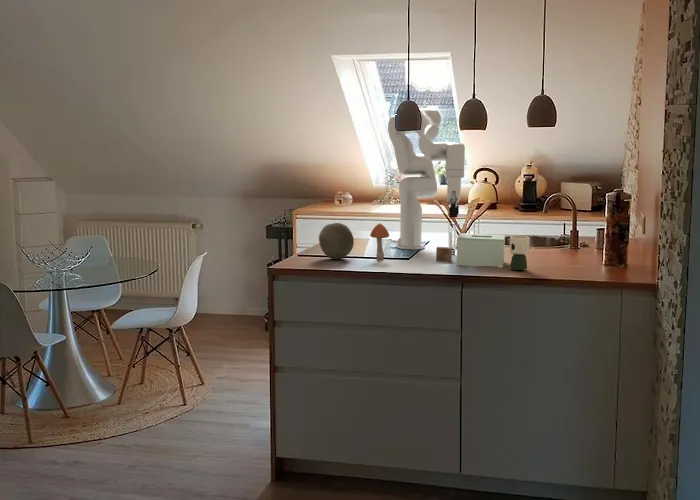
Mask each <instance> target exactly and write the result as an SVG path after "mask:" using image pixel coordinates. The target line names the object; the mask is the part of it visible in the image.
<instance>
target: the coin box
mask: <svg viewBox="0 0 700 500" xmlns="http://www.w3.org/2000/svg"><path fill="white" fill-rule="evenodd" d="M505 244H506V235H505V234H486V233H483V234H482V233H463V232H462V233H459V235H458V236H457V242H456V266H459V265H461V267H463V266H464V267H481V266H491V267H490V268H496V267H495V266H503V267H504V265H503V264H505V246H506V245H505ZM492 266H494V267H492Z"/></svg>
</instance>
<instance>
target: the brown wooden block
mask: <svg viewBox="0 0 700 500" xmlns="http://www.w3.org/2000/svg"><path fill="white" fill-rule="evenodd" d="M435 250H436V256H435V262H448V263H449V262H452V259H453V248H452V246H450V247H449V246H448V247H447V246H437V247H436V249H435Z"/></svg>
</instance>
